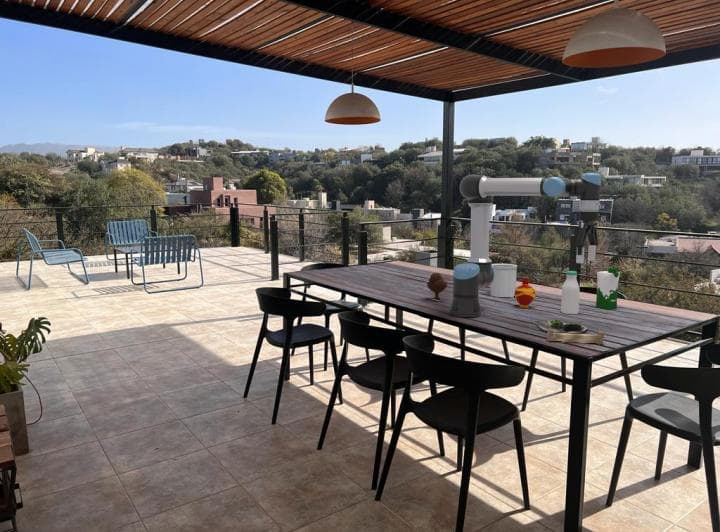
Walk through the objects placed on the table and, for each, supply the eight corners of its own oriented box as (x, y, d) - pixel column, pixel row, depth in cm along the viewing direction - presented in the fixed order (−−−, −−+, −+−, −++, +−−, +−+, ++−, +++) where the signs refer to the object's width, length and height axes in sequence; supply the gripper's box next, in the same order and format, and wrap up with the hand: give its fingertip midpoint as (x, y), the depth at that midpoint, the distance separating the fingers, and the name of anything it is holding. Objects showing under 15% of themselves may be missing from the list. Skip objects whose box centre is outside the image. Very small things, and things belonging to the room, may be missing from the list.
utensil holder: (489, 297, 276) (491, 266, 274) (487, 293, 291) (488, 263, 289) (517, 298, 274) (519, 266, 272) (513, 293, 289) (515, 263, 286)
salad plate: (526, 330, 205) (527, 319, 205) (545, 323, 218) (545, 312, 218) (575, 339, 192) (575, 327, 192) (591, 330, 205) (591, 319, 205)
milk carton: (609, 310, 244) (612, 269, 242) (592, 307, 252) (594, 267, 249) (619, 308, 249) (622, 268, 247) (602, 305, 257) (604, 266, 254)
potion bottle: (512, 307, 249) (514, 278, 247) (514, 304, 258) (515, 275, 257) (535, 309, 245) (536, 279, 243) (536, 305, 255) (537, 276, 253)
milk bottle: (580, 315, 233) (582, 272, 231) (562, 314, 235) (564, 272, 232) (576, 311, 241) (578, 270, 238) (559, 311, 242) (561, 270, 240)
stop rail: (548, 341, 187) (548, 330, 186) (546, 339, 190) (547, 328, 189) (603, 344, 184) (604, 332, 183) (601, 342, 186) (601, 331, 186)
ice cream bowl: (448, 302, 263) (449, 273, 261) (427, 302, 263) (428, 273, 261) (445, 298, 273) (446, 271, 272) (425, 298, 274) (425, 271, 272)
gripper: (587, 211, 197) (584, 264, 199) (608, 211, 215) (604, 260, 217) (568, 211, 202) (565, 263, 204) (590, 210, 220) (586, 258, 222)
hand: (585, 261), depth 211 cm, fingers open, 13 cm apart
